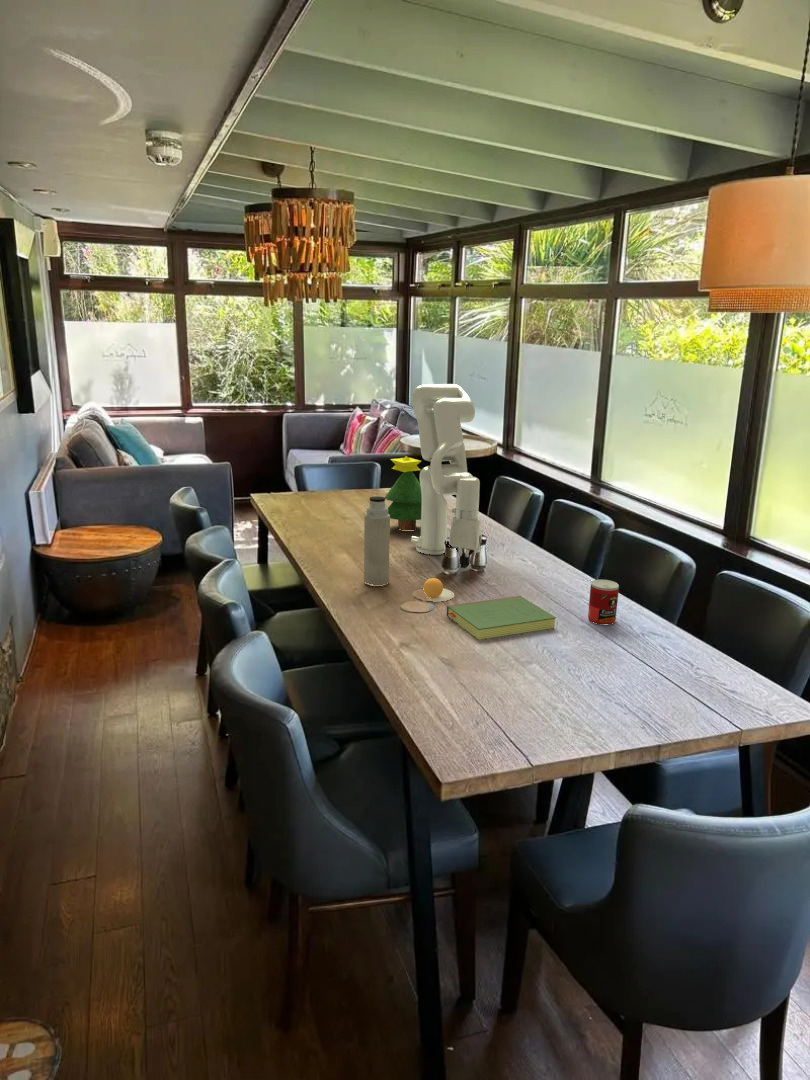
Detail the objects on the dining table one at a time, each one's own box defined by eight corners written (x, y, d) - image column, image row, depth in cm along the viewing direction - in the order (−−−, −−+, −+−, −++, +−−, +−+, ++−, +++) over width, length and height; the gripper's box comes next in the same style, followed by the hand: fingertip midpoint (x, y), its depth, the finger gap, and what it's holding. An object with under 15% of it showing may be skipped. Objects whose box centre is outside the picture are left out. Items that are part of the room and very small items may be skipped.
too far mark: (394, 609, 226) (394, 608, 226) (409, 598, 234) (409, 598, 234) (425, 615, 221) (425, 614, 221) (439, 604, 230) (439, 604, 230)
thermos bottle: (376, 577, 253) (377, 493, 246) (393, 583, 248) (395, 497, 241) (358, 582, 248) (359, 497, 240) (376, 588, 243) (377, 501, 235)
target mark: (404, 597, 235) (404, 596, 235) (423, 585, 247) (423, 584, 247) (443, 604, 230) (443, 604, 230) (460, 592, 241) (461, 591, 241)
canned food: (600, 627, 216) (604, 589, 213) (581, 617, 222) (584, 581, 220) (621, 623, 219) (625, 586, 216) (602, 613, 226) (605, 577, 223)
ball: (422, 575, 234) (428, 579, 240) (419, 594, 233) (425, 598, 239) (441, 577, 232) (446, 581, 238) (438, 596, 231) (444, 600, 236)
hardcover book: (519, 607, 231) (520, 595, 230) (555, 630, 214) (556, 617, 213) (444, 618, 221) (444, 605, 220) (475, 642, 205) (476, 629, 204)
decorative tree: (440, 531, 311) (442, 457, 303) (400, 538, 301) (402, 461, 293) (412, 521, 326) (414, 450, 318) (373, 527, 316) (374, 453, 308)
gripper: (441, 513, 257) (439, 566, 262) (483, 519, 250) (481, 573, 255) (450, 509, 263) (448, 560, 268) (492, 514, 257) (489, 567, 262)
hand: (464, 566), depth 262 cm, fingers closed
